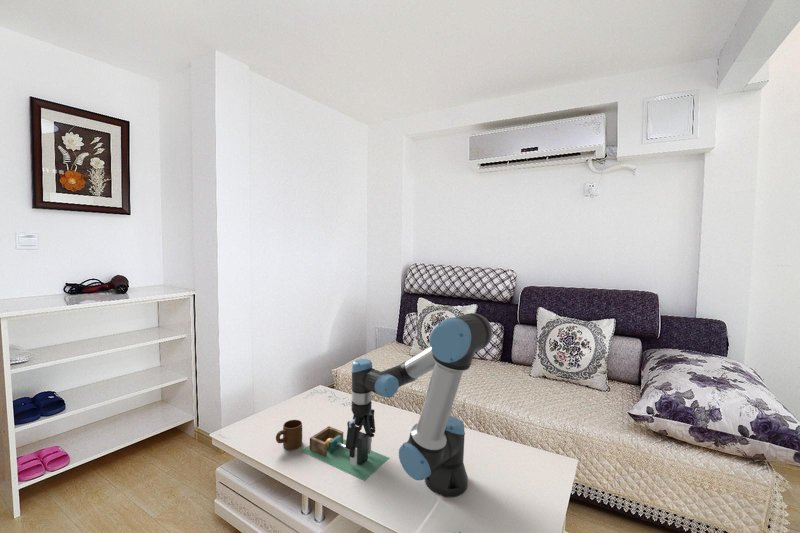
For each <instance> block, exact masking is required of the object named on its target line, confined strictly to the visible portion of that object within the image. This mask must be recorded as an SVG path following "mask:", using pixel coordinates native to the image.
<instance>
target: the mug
mask: <svg viewBox="0 0 800 533" xmlns="http://www.w3.org/2000/svg"><path fill="white" fill-rule="evenodd" d="M282 427H283V428H282V429H281V430H279V431H278V432H277V434H276V435H275V441H276V443H278V444H282V447H283V449H284V450H286V451H294V450H297V449H299V448H301V447H302V445H303V423H302V421H301V420H299V419H291V420H287V421H286V422H284V423H283V426H282ZM281 436H282V438H281Z"/></svg>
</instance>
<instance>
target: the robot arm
mask: <svg viewBox="0 0 800 533" xmlns="http://www.w3.org/2000/svg"><path fill="white" fill-rule="evenodd" d="M492 336H493V328H492V326H491V323H490V321H489V320H488V319H487V317H485V316H483V315H481V314H480V313H475V312H474V313H473V312H469V313H466V314H462V315H459V316H456V317H448V318H446V319H444V320H441V321H439V322H437V324H435V326H434V327H433V328H432V330H431V332H430V335H429V341H428V342H429V346H427V347H426V348H425V349H423V350H422V351H420V352H418V353H417V354H415V355H413V356H411V357H410V358H408V359H407V360H405V361H404V362H402V363H400V364H398V365H396V366H392V367H390V368H387V369H385V370H382V371H381V370H378V369H375V368H373V362H372V361H371V360H370V359H367V358H359V359H356V360H354V361H353V362H352V364H351V412H352V415H353V416H352V420H347V432H346V439H345V440H346V447H345V448H346V449H349V450H350V464H352V465H354V466H356V465H357V448H356V444H357V440H358V436H359V432H361V430H362V428H363V429H364V433H365V434H368V454H371V451H372V442H373V439H372V438H374V437H375V433H376V424H375V423H376V421H375V409H373V408H372V404H373V403H372V400H373V398H372V397H373V395H372V394H373V393H374V394H377V395H379V396H381V397H385V398H392V397H394V396H395V394H396V393H398V391H399V390H398V389H399V388H401V387H403V386H405V385H408V384H411V383H413V382H414V381H416V380H418V379H419V378H420V377H422V376H423V375H426V374H427V373H429V372H431V371H432V373H431V377H430V380H429V384H428V387H427V391H426V394H425V397H424V398H425V399H424V402H423V405H422V409H421V413H420V416H419V420H418V422H417V423H416V424H414V425H413V426H412V428H411V430H410V433H409V437H408V440H407V441H406V442H403V443H402V444H401V445H400V447H399V450H398V459H399V463H400V465H401V467H402V468H403V470H404V472H405V473H406V474H407V475H408V476H409V478H412V480H416V481H424V484H425V486H426V487H427V488H428V489H429V490H430V491H431V492H433V493H435V494H437V495H440V496H442V497H446V498H452V497H453V498H454V497H458V496H460V494H461V495H463V494H464V493H465V492H466V491H467V489H468V484H469V483H468V482H469V479H468V474H467V470H466V468H465V463H464V454H465V437H466V436H465V434H466V432H465V424H464V423H463V421H462V420H461V419H459V418H458V417H455V416H452V415H451V413H452V408H453V406H454V402H455V399H456V395H457V392H458V388H459V385H460V382H461V378H462V376H463V373H464V372H465V371H467V370H469V369H470V367H471V365H472V361H473V358H474V355H475V353H476V352H479V351H480V350H483V349H484V348H486V347H487V346H488V345H489V344H490V342H491V341H492ZM465 490H466V491H465ZM464 491H465V492H464ZM463 492H464V493H463Z"/></svg>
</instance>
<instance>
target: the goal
mask: <svg viewBox="0 0 800 533" xmlns="http://www.w3.org/2000/svg"><path fill="white" fill-rule="evenodd" d="M338 435H340V436H341V443H343V439H344V431H343V430H339V429H336V428H335V427H333V426H327V427H325V428H324V429H322V430H320V431H319V432H317V433H315V434H314V435H312V436H310V437H309V445H310V450H311V451H313V452H315V453H318V454H320V455H322V456H324V457H325V456H326V455H327V443H326V440H327V439H328V438H335V437H336V436H338Z"/></svg>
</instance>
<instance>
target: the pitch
mask: <svg viewBox="0 0 800 533" xmlns="http://www.w3.org/2000/svg"><path fill="white" fill-rule="evenodd" d="M343 444H345V445H346V439H344V438H343ZM301 453H304V454H306V455H309V456H310V457H312V458H315V459H317V460H319V461H321V462H323V463H326V464H328V465H330V466H332V467H334V468H336V469H339V470H340V471H343V472H344V473H347V474H349V475H351V476H353V477H355V478H357V479H359V480H362V481H363V482H366V480H368V479H369V477H371V476H372V475H373V474H374V473H375V472H376V471H378V469H379V468H381V467H382V466H383V465H384V464H385V463H386V462H387V461H388V460H389V459H390V457H389V456H386V455H383V454H381V453H378V452H376V451H373V450H371V454H368V460H367V461H366V462H364V463H363V464H362V465H360V464H358V463H357V465H356V466H354V465H352V464H350V452H348V451H346V450H344V449H341V448H338V449H336V450H335V451H333V452H332V453H329V449H328V448H327V455H326V456H325V457H324V456H322V455H320V454H318V453H315V452H313V451H311V450H310V444H309V445H308V446H306V447H304V448H303V449H301Z"/></svg>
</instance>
